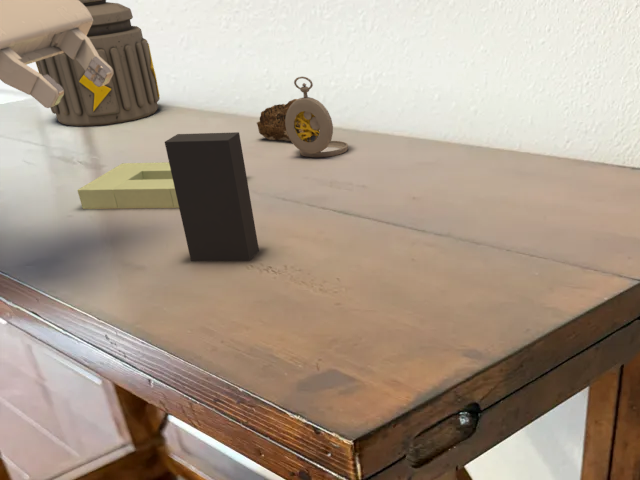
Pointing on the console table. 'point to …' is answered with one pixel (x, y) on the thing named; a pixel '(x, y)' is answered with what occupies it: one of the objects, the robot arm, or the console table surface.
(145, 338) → the console table surface
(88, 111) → the grey power cell canister
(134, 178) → the seat pad
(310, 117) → the pocket watch
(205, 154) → the back pad
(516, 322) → the console table surface
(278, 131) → the rock sample
